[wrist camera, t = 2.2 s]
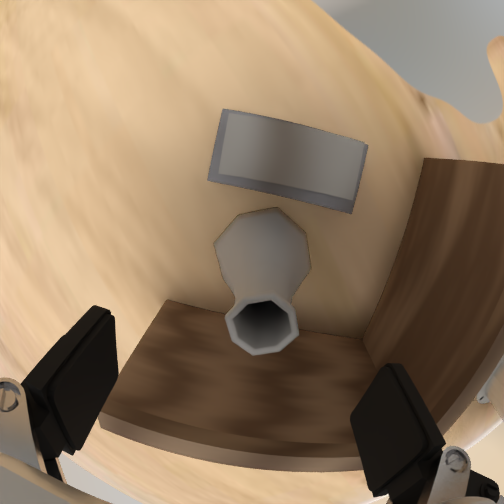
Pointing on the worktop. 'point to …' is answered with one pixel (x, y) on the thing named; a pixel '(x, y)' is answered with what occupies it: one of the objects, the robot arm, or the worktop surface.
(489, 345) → the brown wooden corner wall
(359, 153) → the offcut top
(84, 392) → the robot arm
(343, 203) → the tray
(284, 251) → the flask
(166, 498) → the worktop surface
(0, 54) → the worktop surface
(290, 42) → the worktop surface
